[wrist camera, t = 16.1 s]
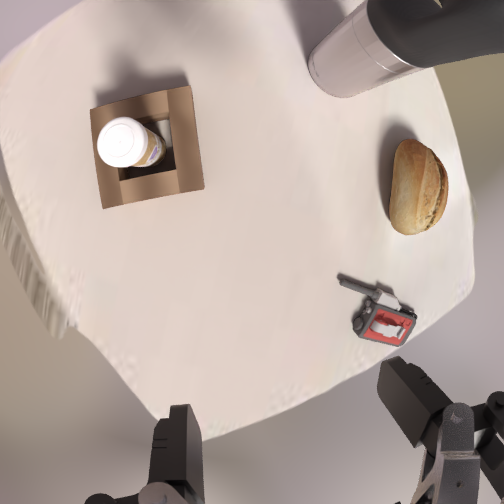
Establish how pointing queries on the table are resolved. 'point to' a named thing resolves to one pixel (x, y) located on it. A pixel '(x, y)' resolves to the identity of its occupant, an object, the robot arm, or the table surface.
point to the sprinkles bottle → (129, 144)
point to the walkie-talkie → (382, 317)
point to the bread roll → (417, 188)
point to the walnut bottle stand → (183, 137)
